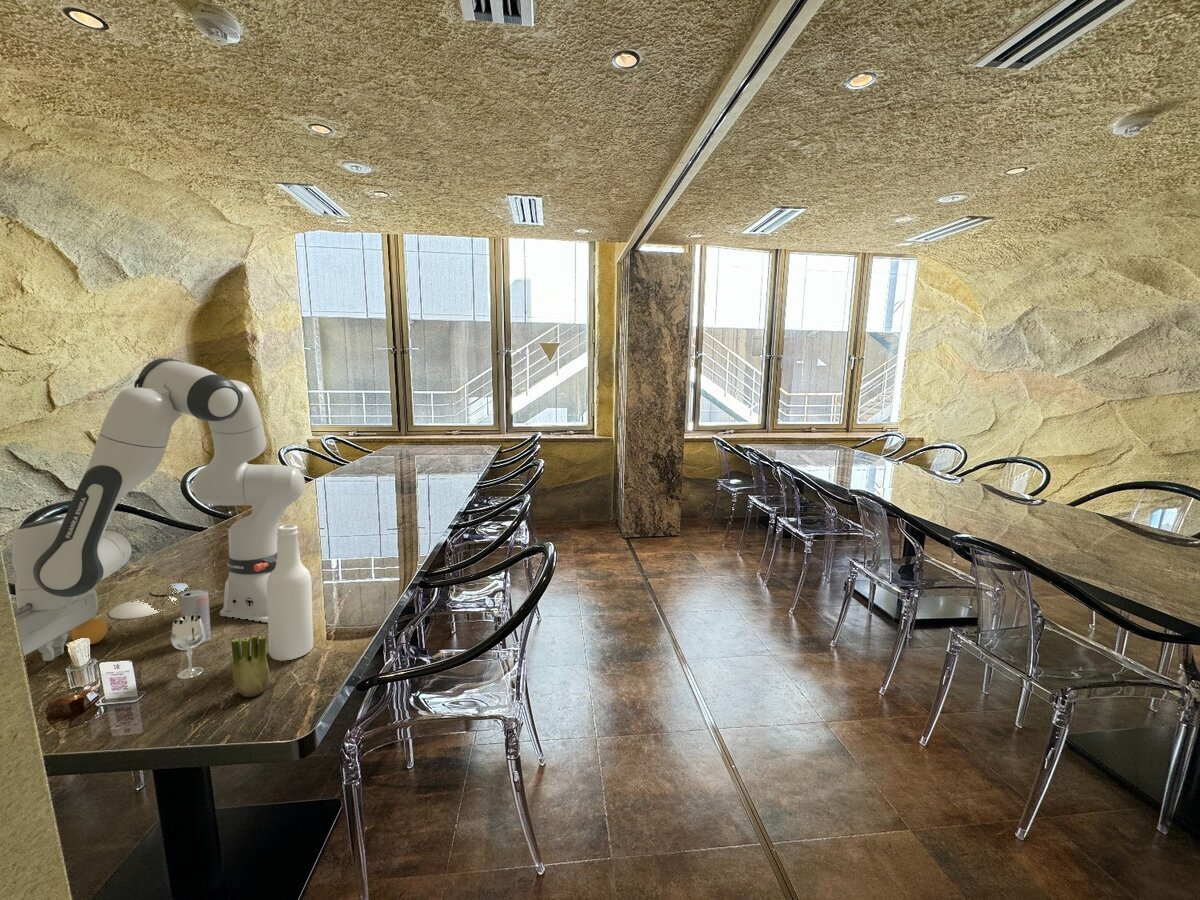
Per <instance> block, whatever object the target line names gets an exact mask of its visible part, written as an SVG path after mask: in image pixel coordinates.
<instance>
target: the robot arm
mask: <svg viewBox="0 0 1200 900" xmlns="http://www.w3.org/2000/svg"><path fill="white" fill-rule="evenodd" d="M182 414H185V415H188V416H193V417H195V418H197V419H199V420H201V421H207V422H208V426H209V430H210V434H211V439H212V443H213V450H214V453H213V457H212V459H211V461H210V462H209V463H208V464H206V465H205V466H204V467H202V468H201V469H200V470H199V471H198V472H197V473H196V474H195V476H194V478H193V482H192V490H193V493H194V495H195V497H196V499H198V501H199V502H201V503H204V504H208V505H215V506H251V509H252V511H251V514H250V515H247V516H245V517H242V518H241V519H238V520H236V521H234V523H233V524H231V526H230V528H229V530H228V533H227V534H228V535H227V537H228V551H229V552H228V555H227V561H226V565H227V570H228V572H229V573H228V576H227V579H226V581H225V583H224V591H223V592H224V593H223V594H224V595H223V596H224V597H223V608H221V610H220V611H219V616H220V617H225V616H226V617H227V618H232V617H234V618H233V619H238V618H240V620H245V619H248V620H247V621H252V620H254V621H253V622H259V621H261V623H268V612H267V587H266V584H267V580H268V576H269V575H270V573H271V572H272V571H273V570H274V569H275V567H276V564H277V546H278V535H277V533H278V530H277V528H278V527H279V523H280V520H281V518H282V516H283V514H284V513H285V511H286V510H287V509H288V508H289V507H290V506H292V504H293V503H296V502H297V501H298V500H299V499H300V498H301V497H302V495H303V493H304V491H305V489H306V481H305V477H304V475H303V472H302V471H300V469H299V468H298V467H295V466H289V465H284V464H279V463H278V464H274V463H273V464H251V463H248V462H250V461H252V460H254V459H256V458H257V457H259V456H260V455H261V454H263V452H264V451H265V449H266V446H267V438H266V433H265V429H264V424H263V420H262V419H263V418H262V415H261V411H260V408H259V405H258V401H257V399H256V397H255V395H254V393H253V391H252V389H251V388H250V386H249V385H248V384H246V383H245V382H243V381H240V380H238V379H237V380H236V379H229V378H227V377H226V376H223V375H222V374H217V373H215V372H213V371H212V370H209V369H208V368H204V367H203V366H199V365H194V364H193V363H192V364H191V363H188V362H184V361H182V360H179V359H175V358H165V357H164V358H157V359H153V360H152V361H150V362H149V363H147V364H146V365H145V366H144V367H143V368H142V370H140V373H139V375H138V377H137V379H136V380H135V381H134V386H133V387H129V388H126V389H123V390H121V391H120V392H119V393H118V394H117V395H116V397H115V399H114V400H113V403H112V404H111V405H110V407H109V409H108V411H107V413H106V415H105V417H104V419H103V422H102V424H101V427H100V430H99V433H98V435H97V440H96V443H95V445H94V449H93V451H92V454H91V456H90V457H91V458H90V460H89V462H88V465H87V468H86V469H85V471H84V473H83V476H82V479H81V480H80V483H79V485H78V486H77V488H76V490H75V493H74V495H73V497H72V500H71V502H70V505H69V506H68V509H67V512H66V514H65V516H64V517H63V516H54V517H48V518H40V519H38V520H35V521H31V522H27V523H26V524H23V525H20V526H19V527H17V529H15V531H14V533H13V536H12V544H11V545H12V547H11V558H12V566H13V567H12V568H13V569H14V570H15V573H16V581H15V584H14V588H15V597H16V598H15V599H16V609H14V610H13V611H14V612H15V616H16V620H17V625H18V630H19V635H20V640H21V644H22V649H23V653H24V656H23V657H25V656H26V655H29V654H30V653H32V652H33V651H35V650H38V651H39V652H40V654H41V657H42V660H43V662H44V661H45V662H50V661H52V660H54V659H56V658H57V657H59V656H61V655H62V654H64V653H65V650H64V648H65V647H64V646H65V644H66V642H67V639H68V637H69V632H70V631H72V630H73V629H74V628H76V627H77V626H79V625H81V624H83V623H85V622H86V621H88V620H90V619H92V618H96V617H95V616H96V615H97V613H98V609H99V603H98V594H97V591H96V590H95V589H96V587H97V585H98V584H99V583H101V581H103V580H105V579H106V578H108V577H109V576H111V575H112V574H113V573H115V572H117V571H118V570H120V569H122V567H124V566H125V565H126V564H127V563H128V562H129V561H130V560H131V557H132V555H133V546H132V543H131V541H130V540H129V538H128V537H127V536H126V535H124V534H123V533H121V532H119V531H116V530H113V529H107V527H108V524H109V522H110V519H111V517H112V515H113V512H114V510H115V509H116V507H117V506H118V504H119V503H120V501H121V500H122V499H124V497H125V496H126V495H128V493H130V492H131V491H132V490H133V489H135V488H136V487H137V486H139V485H140V484H142V483H143V482H144V481H146V480H147V479H150V477H151V476H152V475H153V474H154V473H155V472H156V471H157V468H158V467H159V465H161V462H162V460H163V459H164V455H165V452H166V449H167V448H168V447H167V446H168V443H169V440H170V436H171V432H172V427H173V425H174V423H175V422H176V421H177V420H178V419H179V418H180V417H181V416H182Z"/></svg>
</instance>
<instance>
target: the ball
mask: <svg viewBox="0 0 1200 900" xmlns="http://www.w3.org/2000/svg"><path fill="white" fill-rule="evenodd" d="M107 633H108V625H107V623H106V622H105V621H104V620H103V619H101V618H96V617H94V618H92V619H90V620H88V621H86V622H85V623H83V624H81V625H79V626H77V627H76V628H74V629H72V630H71V634H70V636H71V640H72V641H73V642H74V640H77V639H80V638H89V639H90V641H91V644H92V645H95V644H97V643H99V642H101V640H103V639H104V637H106V635H107Z"/></svg>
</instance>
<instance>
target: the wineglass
mask: <svg viewBox="0 0 1200 900" xmlns="http://www.w3.org/2000/svg"><path fill="white" fill-rule="evenodd" d="M204 638H205V626H204V623H203V620H202V618H201V616H200V615H187V616H183V617H181V616H180V617H177V618H176V619H174V620H173V622H172V625H171V630H170V642H171V645H172V646H173V648H175V649H177V650H181V651H185V650H186V652H185V653H186V657H187V659H188V668H186V669H183V670H181V671H180V672H179V673H178V674H177V675H176V677H177V678H178V679H181V680H186V679H192V678H195V677H197V676H199V675H201V674H202V673H203V672H204V670H205V669H204V668H203V667H200V666H193V665H192V655H193V650H192V649H194V648H196V647H198V646H200V645H202V644H201V643H202V641H203V640H204ZM199 644H200V645H199Z"/></svg>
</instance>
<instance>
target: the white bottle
mask: <svg viewBox="0 0 1200 900" xmlns="http://www.w3.org/2000/svg"><path fill="white" fill-rule="evenodd" d="M277 530H278V531H277V564H276V567H275V569H274V570H273V571H272V572H271V573H270V575H269V576H268V580H267V584H266V587H267V612H268V622H267V630H268V631H267V632H268V633H267V635H268V653H269V656H270V657H271V658H272V659H273V660H274V659H275V660H274V661H276V660H280V661H279V662H281V661H284V660H292V659H295V658H298V657H301V656H303V655H305V654H307V653H308V652H309V653H310V652H311V651H312V649H313V648H314V628H313V627H314V625H313V623H314V622H313V595H312V594H313V590H312V588H313V587H312V576H311V572H310V570H308V569H307V567H306V566H305V565H303V563H302V561H301V555H300V547H299V545H300V544H299V538H298V537H299V536H298V533H299V531H298V526H297V525H296V524H283V525H281V526H280V525H279V526H278V528H277ZM310 650H311V651H310ZM309 653H308V654H309ZM308 654H307V655H308ZM292 661H293V660H292ZM284 662H285V661H284Z"/></svg>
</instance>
